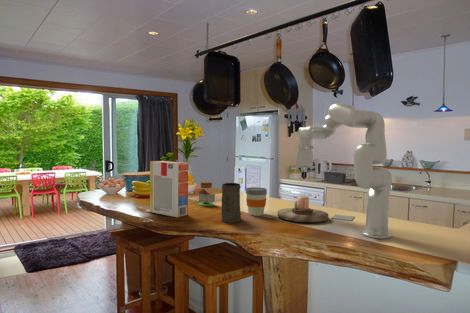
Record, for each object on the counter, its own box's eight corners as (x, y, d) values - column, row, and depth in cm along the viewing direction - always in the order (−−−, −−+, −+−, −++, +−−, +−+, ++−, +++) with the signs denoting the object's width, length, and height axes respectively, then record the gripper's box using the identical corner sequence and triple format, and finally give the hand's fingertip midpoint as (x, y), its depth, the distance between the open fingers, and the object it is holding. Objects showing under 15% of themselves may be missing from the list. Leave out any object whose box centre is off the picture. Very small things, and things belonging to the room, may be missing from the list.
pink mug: (295, 211, 192) (295, 196, 191) (305, 211, 193) (306, 196, 192) (301, 215, 183) (301, 198, 183) (312, 214, 184) (312, 198, 184)
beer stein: (238, 223, 173) (239, 185, 172) (218, 222, 175) (219, 184, 174) (244, 217, 188) (244, 182, 187) (225, 216, 190) (226, 181, 190)
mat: (351, 221, 184) (351, 220, 184) (331, 218, 189) (331, 217, 189) (354, 217, 194) (354, 216, 194) (335, 215, 199) (335, 214, 199)
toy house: (193, 203, 228) (193, 181, 227) (211, 202, 233) (211, 181, 232) (199, 206, 217) (199, 183, 216) (217, 205, 222) (217, 183, 222)
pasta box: (187, 214, 192) (188, 162, 191) (177, 217, 186) (178, 163, 184) (159, 209, 205) (160, 160, 204) (149, 211, 199) (150, 161, 197)
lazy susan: (333, 214, 194) (333, 203, 194) (320, 224, 170) (320, 212, 170) (287, 209, 208) (288, 199, 208) (269, 217, 184) (270, 206, 184)
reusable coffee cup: (255, 217, 189) (255, 190, 189) (240, 213, 199) (241, 188, 198) (270, 214, 197) (271, 189, 197) (256, 211, 207) (256, 186, 206)
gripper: (317, 148, 201) (316, 178, 201) (292, 147, 204) (291, 177, 205) (317, 148, 194) (317, 179, 194) (291, 147, 197) (291, 179, 197)
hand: (304, 178), depth 199 cm, fingers closed
